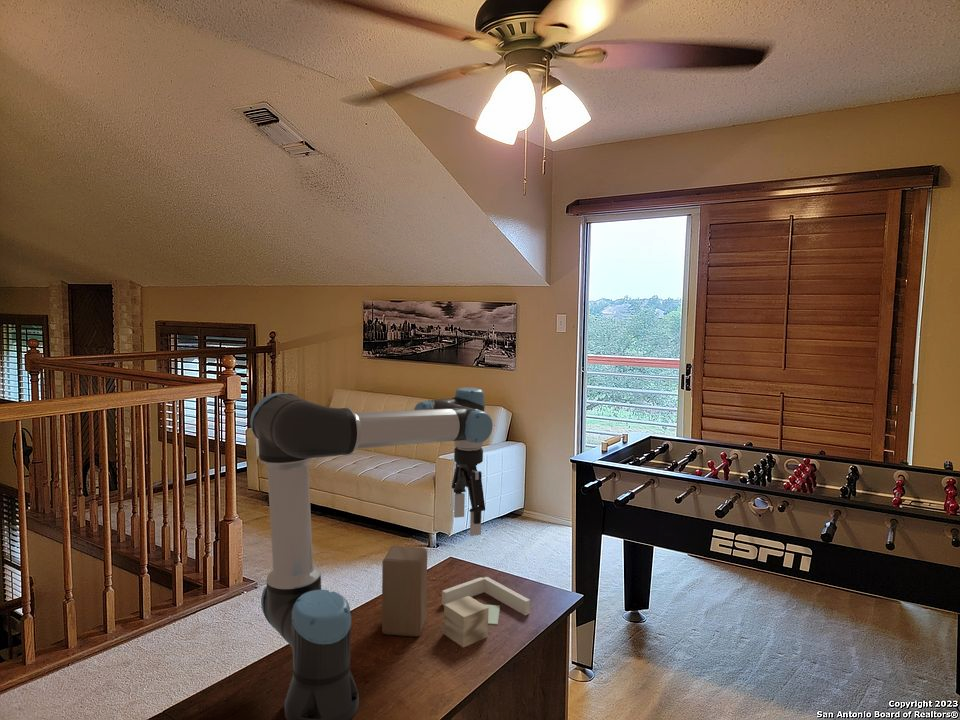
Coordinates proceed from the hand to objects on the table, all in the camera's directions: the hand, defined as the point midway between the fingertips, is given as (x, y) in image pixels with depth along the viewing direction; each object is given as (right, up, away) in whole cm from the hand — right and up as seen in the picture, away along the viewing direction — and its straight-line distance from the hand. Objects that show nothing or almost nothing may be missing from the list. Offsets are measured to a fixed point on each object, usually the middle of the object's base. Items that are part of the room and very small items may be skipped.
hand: (466, 525), depth 176 cm
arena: (+4, -25, +7) cm, 26 cm away
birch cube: (0, -27, -6) cm, 27 cm away
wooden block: (-16, -26, -3) cm, 31 cm away
